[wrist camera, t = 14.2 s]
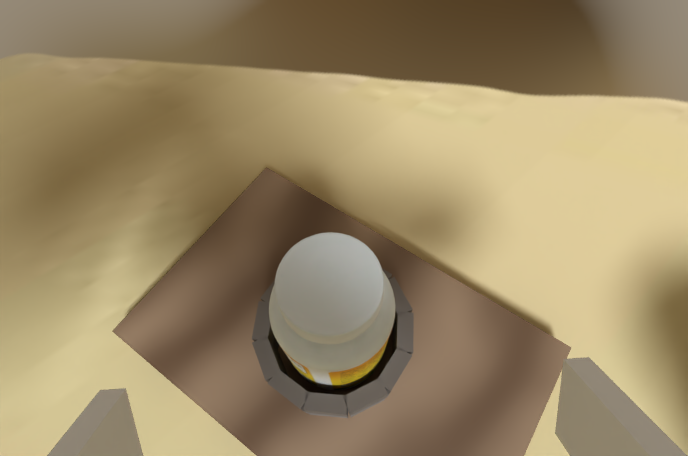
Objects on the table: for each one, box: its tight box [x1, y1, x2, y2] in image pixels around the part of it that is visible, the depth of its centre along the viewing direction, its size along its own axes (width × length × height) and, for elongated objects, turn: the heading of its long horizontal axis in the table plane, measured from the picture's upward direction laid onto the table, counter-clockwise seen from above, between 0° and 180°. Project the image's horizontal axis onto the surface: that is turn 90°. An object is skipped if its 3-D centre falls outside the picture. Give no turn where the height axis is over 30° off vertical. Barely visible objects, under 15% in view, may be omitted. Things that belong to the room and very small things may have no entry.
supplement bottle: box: [269, 232, 395, 390], centre depth 19 cm, size 5×5×10 cm
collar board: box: [113, 167, 571, 456], centre depth 23 cm, size 22×14×4 cm, turn 55°
